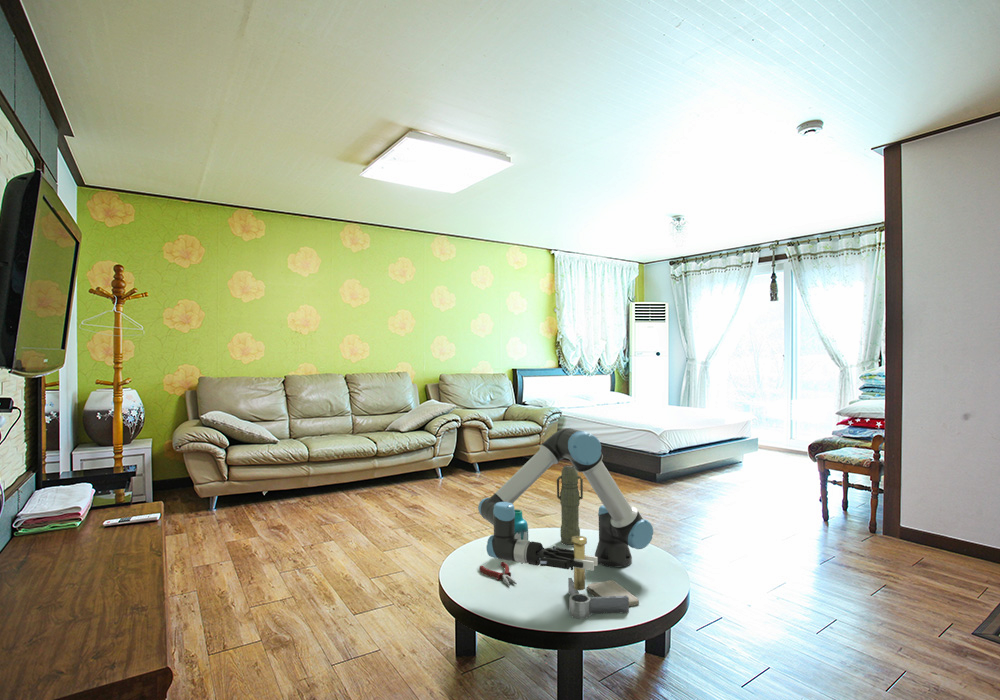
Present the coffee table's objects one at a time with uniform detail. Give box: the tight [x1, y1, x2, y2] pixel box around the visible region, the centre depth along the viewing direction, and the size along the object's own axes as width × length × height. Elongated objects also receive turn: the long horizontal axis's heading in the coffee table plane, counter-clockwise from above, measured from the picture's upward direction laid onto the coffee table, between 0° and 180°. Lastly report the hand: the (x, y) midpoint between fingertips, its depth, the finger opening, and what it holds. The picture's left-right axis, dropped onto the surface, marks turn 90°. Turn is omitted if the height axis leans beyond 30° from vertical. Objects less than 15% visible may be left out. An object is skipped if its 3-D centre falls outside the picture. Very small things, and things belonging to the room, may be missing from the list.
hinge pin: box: [572, 535, 588, 591], centre depth 172 cm, size 5×5×16 cm
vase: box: [514, 508, 529, 541], centre depth 223 cm, size 11×11×19 cm
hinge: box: [567, 577, 630, 620], centre depth 178 cm, size 20×20×5 cm
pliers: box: [478, 561, 518, 587], centre depth 201 cm, size 12×20×3 cm, turn 25°
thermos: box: [556, 464, 584, 546], centre depth 239 cm, size 9×12×35 cm
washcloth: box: [585, 579, 640, 607], centre depth 184 cm, size 12×18×3 cm, turn 21°
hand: (595, 563), depth 169 cm, fingers closed on hinge pin, 3 cm apart
